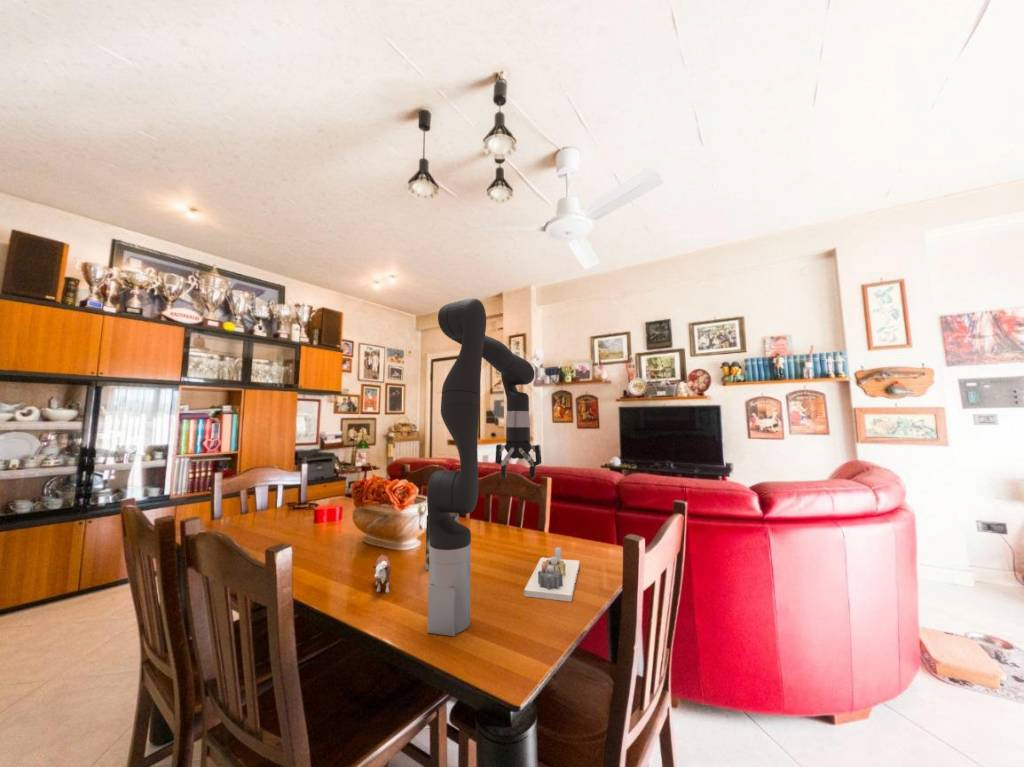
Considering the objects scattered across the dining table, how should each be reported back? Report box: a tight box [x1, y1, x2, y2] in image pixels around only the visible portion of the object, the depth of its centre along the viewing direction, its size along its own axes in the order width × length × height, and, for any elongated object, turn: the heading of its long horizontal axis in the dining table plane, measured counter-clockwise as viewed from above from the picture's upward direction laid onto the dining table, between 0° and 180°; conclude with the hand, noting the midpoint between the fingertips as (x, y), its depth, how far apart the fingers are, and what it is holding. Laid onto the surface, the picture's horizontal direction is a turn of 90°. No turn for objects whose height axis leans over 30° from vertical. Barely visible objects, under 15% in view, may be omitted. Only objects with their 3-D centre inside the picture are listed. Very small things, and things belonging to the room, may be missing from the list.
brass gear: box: [543, 559, 566, 576], centre depth 107 cm, size 6×6×3 cm
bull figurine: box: [373, 554, 392, 594], centre depth 102 cm, size 4×13×8 cm, turn 15°
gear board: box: [523, 546, 581, 603], centre depth 107 cm, size 24×12×6 cm, turn 165°
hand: (518, 478), depth 118 cm, fingers open, 8 cm apart
